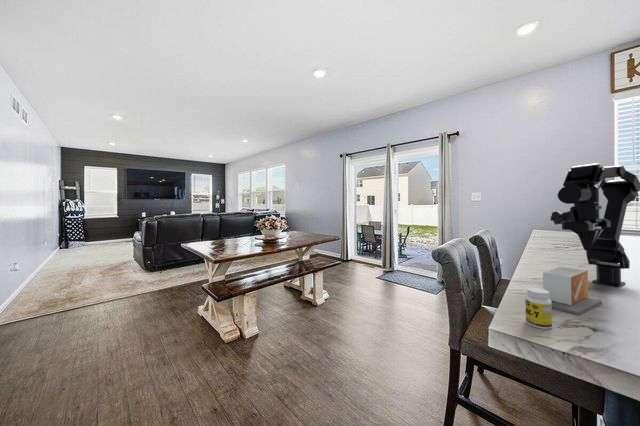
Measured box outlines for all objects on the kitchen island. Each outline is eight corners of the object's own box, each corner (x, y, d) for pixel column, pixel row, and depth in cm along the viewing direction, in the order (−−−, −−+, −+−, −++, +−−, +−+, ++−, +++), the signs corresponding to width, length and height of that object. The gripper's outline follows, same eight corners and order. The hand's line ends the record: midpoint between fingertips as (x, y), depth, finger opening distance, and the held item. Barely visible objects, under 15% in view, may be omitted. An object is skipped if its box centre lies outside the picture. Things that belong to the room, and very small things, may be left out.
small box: (589, 296, 74) (572, 306, 68) (560, 290, 80) (542, 299, 73) (588, 269, 74) (571, 277, 68) (560, 265, 80) (542, 272, 73)
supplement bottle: (520, 321, 62) (519, 287, 62) (538, 319, 63) (537, 286, 62) (539, 330, 57) (538, 294, 57) (557, 328, 58) (557, 292, 58)
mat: (552, 292, 81) (552, 290, 81) (601, 303, 71) (601, 300, 71) (528, 301, 74) (528, 299, 74) (578, 315, 64) (578, 312, 64)
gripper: (566, 203, 93) (567, 245, 93) (541, 204, 85) (542, 250, 85) (610, 202, 83) (611, 248, 83) (587, 203, 75) (588, 255, 75)
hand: (587, 250), depth 82 cm, fingers closed
